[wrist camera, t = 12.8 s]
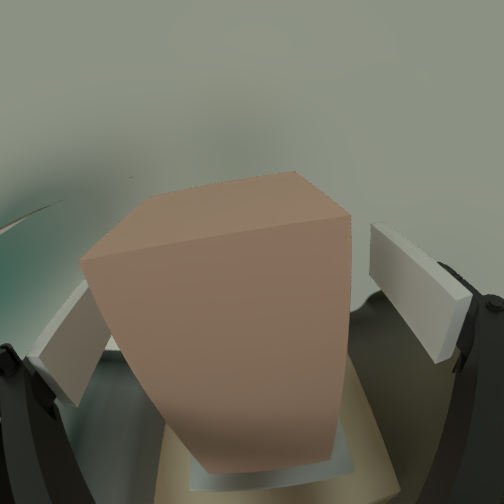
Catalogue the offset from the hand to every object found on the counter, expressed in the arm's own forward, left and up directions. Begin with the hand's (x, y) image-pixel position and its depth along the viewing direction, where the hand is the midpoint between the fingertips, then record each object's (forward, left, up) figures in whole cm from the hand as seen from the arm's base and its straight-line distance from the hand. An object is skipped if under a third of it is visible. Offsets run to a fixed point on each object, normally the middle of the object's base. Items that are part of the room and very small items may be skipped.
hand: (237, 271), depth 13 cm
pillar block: (0, -3, -8) cm, 8 cm away
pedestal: (0, -3, -12) cm, 13 cm away
